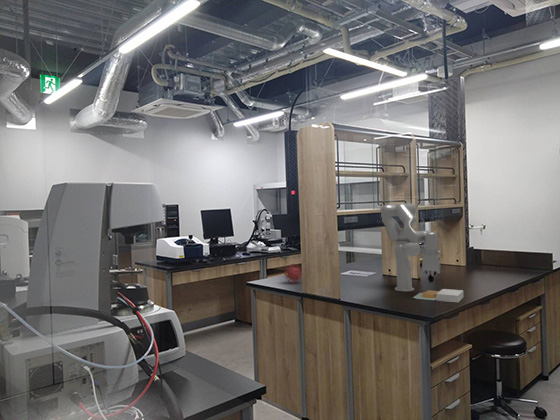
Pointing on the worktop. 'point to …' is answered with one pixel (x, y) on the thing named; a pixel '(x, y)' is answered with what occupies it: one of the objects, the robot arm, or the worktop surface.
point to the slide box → (430, 294)
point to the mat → (418, 296)
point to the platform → (449, 295)
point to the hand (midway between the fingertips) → (431, 282)
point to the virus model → (293, 273)
